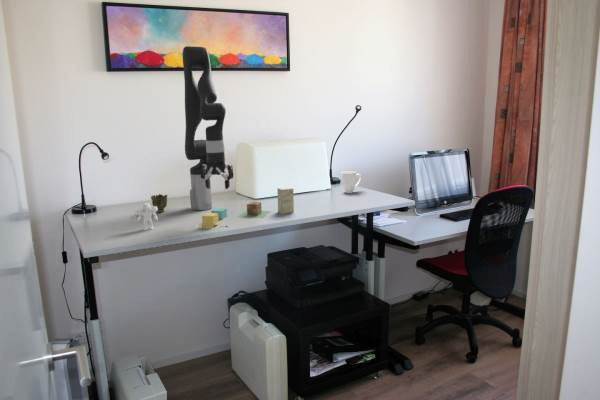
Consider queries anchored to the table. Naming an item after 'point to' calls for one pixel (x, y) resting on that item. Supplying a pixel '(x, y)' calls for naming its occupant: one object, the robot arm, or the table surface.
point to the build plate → (254, 215)
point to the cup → (159, 202)
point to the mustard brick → (210, 220)
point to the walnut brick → (254, 208)
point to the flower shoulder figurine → (147, 214)
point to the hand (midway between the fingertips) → (217, 188)
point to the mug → (349, 180)
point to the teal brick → (220, 212)
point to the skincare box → (285, 200)
